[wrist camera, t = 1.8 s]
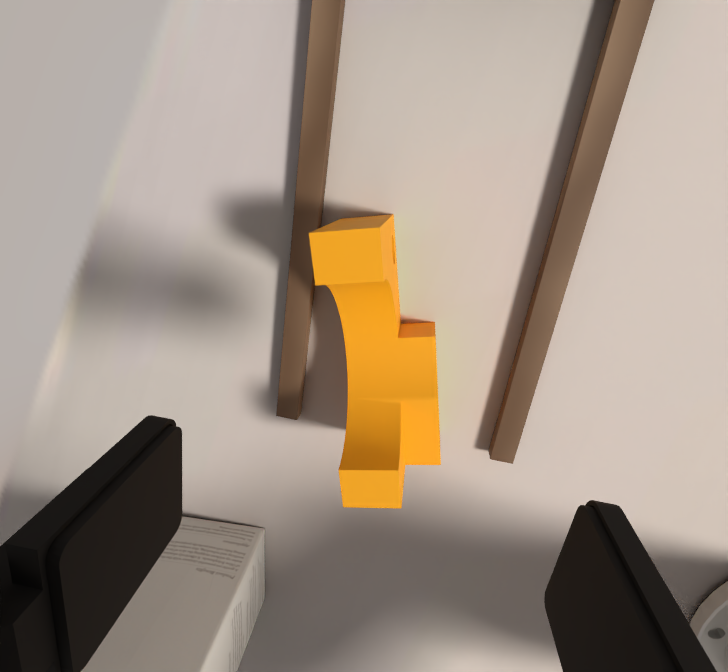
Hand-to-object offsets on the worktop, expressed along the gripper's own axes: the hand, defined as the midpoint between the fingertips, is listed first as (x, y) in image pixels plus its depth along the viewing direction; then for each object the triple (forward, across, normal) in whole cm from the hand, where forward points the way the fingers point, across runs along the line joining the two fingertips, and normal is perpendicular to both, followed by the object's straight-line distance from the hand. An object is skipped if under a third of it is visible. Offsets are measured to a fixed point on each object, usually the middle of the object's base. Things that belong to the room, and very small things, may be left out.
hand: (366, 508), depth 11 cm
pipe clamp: (+14, 0, +1) cm, 14 cm away
